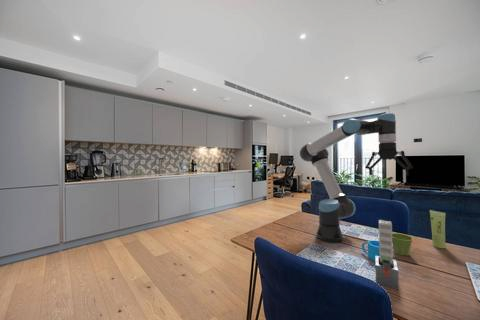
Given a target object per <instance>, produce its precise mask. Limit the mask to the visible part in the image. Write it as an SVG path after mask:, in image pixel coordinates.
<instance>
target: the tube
mask: <svg viewBox="0 0 480 320" xmlns="http://www.w3.org/2000/svg"><path fill="white" fill-rule="evenodd" d="M446 215H447V214H446V212H442V211H436V210H433V209H429V217H430V227H431V236H432V237H431V239H432V240H431V241H432V246H433V247H435V248H438V249H445V248H446Z"/></svg>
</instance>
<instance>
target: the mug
mask: <svg viewBox="0 0 480 320" xmlns="http://www.w3.org/2000/svg"><path fill="white" fill-rule="evenodd" d="M365 244H367V250H366V248H365ZM361 249H362V251H363V252H364V254H365V255H367V257H368V258H369V259H371V260H372V261H375V262H376V258H375V256H380V252H379V240H374V239H373V240H368V241H364V242H362V244H361Z"/></svg>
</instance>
